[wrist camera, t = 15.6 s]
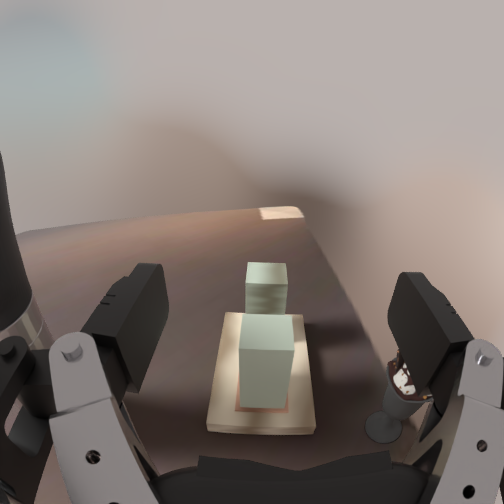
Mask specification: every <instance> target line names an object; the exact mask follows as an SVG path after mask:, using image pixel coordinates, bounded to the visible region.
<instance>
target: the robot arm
mask: <svg viewBox="0 0 504 504" xmlns="http://www.w3.org/2000/svg"><path fill="white" fill-rule="evenodd" d="M168 313H169V302H168V296H167V290H166V284H165V278H164V271H163V267H162V265H161V264H153V263H138V264H137V266H136V267H135V268H134V270H133V271H132V273H131V274H130V275H129V277H125V276H124V277H123V278H122V279H120V280H119V281H117V282H116V283H114V284H113V285H112V286H111V288H110V289H109V291H108V292H107V293H106V296H104V298H103V299H102V300H101V302H100V304H99V305H98V306H97V307H96V309H95V310H94V312H93V313H92V315H91V316H90V318H89V319H88V321H87V322H86V324H85V325H84V326H83V328H82V329H81V331H80V332H73V333H69V334H66V335H64V336H62V337H60V338H59V339H58V340H56V341H54V339H53V337H52V335H51V333H50V331H49V329H48V327H47V324H46V322H45V320H44V318H43V316H42V313H41V311H40V309H39V306H38V304H37V302H36V299H35V297H34V294H33V292H32V289H31V286H30V284H29V281H28V278H27V275H26V272H25V269H24V265H23V261H22V258H21V254H20V251H19V247H18V244H17V240H16V236H15V232H14V228H13V223H12V219H11V213H10V207H9V201H8V194H7V186H6V180H5V172H4V166H3V161H2V156H1V153H0V504H34V500H35V497H36V493H37V490H38V486H39V483H40V480H41V477H42V474H43V471H44V467H45V464H46V462H47V459H48V456H49V453H50V450H51V447H52V445H53V443H54V447H55V451H56V455H57V459H58V463H59V466H60V470H61V473H62V477H63V480H64V483H65V486H66V489H67V492H68V495H69V498H70V501H71V503H72V504H494V502H495V499H496V496H497V492H498V488H499V487H500V491H501V496H502V500H503V504H504V357H502V355H501V353H500V351H499V350H498V349H497V348H496V347H495V346H494V345H493V344H492V343H490V342H488V341H485V340H482V339H474V338H473V336H472V334H471V333H470V331H469V330H468V328H467V327H466V325H465V324H464V322H463V321H462V319H461V318H460V316H459V315H458V314H456V311H455V309H454V308H453V306H451V304H450V302H449V301H448V300H447V298H446V297H445V295H444V294H443V293H441V292H440V291H439V290H437V289H436V288H435V287H433V286H432V285H431V283H430V282H429V281H428V279H427V278H426V277H425V275H424V274H423V273H421V272H402V273H401V274H400V275H399V277H398V280H397V283H396V286H395V290H394V293H393V296H392V300H391V303H390V306H389V309H388V324H389V327H390V329H391V331H392V334H393V336H394V338H395V341H396V343H397V345H398V348H399V350H400V352H401V355H402V357H403V359H404V362H405V364H406V367H407V369H408V372H409V374H410V377H411V379H412V382H413V384H414V387H415V390H416V392H417V395H418V397H421V396H426V395H432V397H433V400H432V401H431V402H430V404H429V406H428V409H427V411H426V415H425V417H424V420H423V422H422V425H421V427H420V430H419V432H418V434H417V437H416V439H415V442H414V444H413V446H412V448H411V450H410V452H409V453H408V455H407V456H406V457H405V459H404V460H403V461H402V463H400V462H394V461H391V458H390V454H389V450H388V451H383V452H377V453H371V454H364V455H357V456H349V457H345V458H342V459H339V460H336V461H333V462H330V463H327V464H323V465H320V466H317V467H313V468H310V469H306V470H302V471H294V470H288V469H284V468H279V467H274V466H270V465H266V464H262V463H258V462H254V461H250V460H240V459H226V458H215V457H206V456H199V461H198V466H195V467H187V468H182V469H178V470H174V471H171V472H168V473H165V474H163V475H160V474H159V472H158V470H157V468H156V467H155V465H154V463H153V462H152V460H151V459H150V457H149V455H148V453H147V452H146V450H145V448H144V446H143V444H142V442H141V440H140V438H139V436H138V434H137V431H136V429H135V427H134V425H133V423H132V420H131V418H130V416H129V414H128V411H127V409H126V407H125V404H124V402H123V400H122V399H123V397H124V394H125V392H126V391H128V392H133V393H139V391H140V388H141V385H142V382H143V380H144V377H145V374H146V372H147V369H148V367H149V364H150V361H151V359H152V356H153V354H154V351H155V349H156V346H157V344H158V341H159V339H160V336H161V334H162V331H163V329H164V326H165V324H166V321H167V318H168ZM14 403H15V404H16V405H17V407H18V408H19V409H20V411H19V414H18V416H17V418H16V420H15V422H14V424H13V426H12V429H11V431H10V433H9V435H8V437H7V435H6V433H5V429H4V425H5V421H6V418H7V416H8V414H9V412H10V410H11V408H12V406H13V404H14Z"/></svg>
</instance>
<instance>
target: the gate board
mask: <svg viewBox="0 0 504 504" xmlns="http://www.w3.org/2000/svg"><path fill="white" fill-rule="evenodd" d="M287 287H288V282H287V272H286V263H256V262H248V267H247V276H246V313H230V312H226V314H225V319H224V325H223V330H222V336H221V341H220V347H219V352H218V358H217V363H216V369H215V375H214V380H213V386H212V392H211V398H210V403H209V409H208V415H207V421H206V425H207V429H208V431H213V432H224V433H238V434H259V435H304V434H313V433H314V430H315V428H316V421H315V412H314V402H313V393H312V385H311V376H310V368H309V360H308V352H307V344H306V337H305V329H304V322H303V315H292V325H293V336H294V348H295V352H294V358H293V364H292V370H291V375H290V381H289V387H288V392H287V398H286V403H285V408H249V407H240V387H239V340H240V332H241V323H242V314H265V315H285V307H286V297H287Z"/></svg>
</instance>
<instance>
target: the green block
mask: <svg viewBox="0 0 504 504" xmlns="http://www.w3.org/2000/svg"><path fill="white" fill-rule="evenodd" d="M294 352H295V348H294V336H293V325H292V315H265V314H242V323H241V332H240V340H239V387H240V407H249V408H285V403H286V398H287V392H288V387H289V381H290V375H291V370H292V364H293V358H294Z"/></svg>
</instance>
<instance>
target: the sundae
mask: <svg viewBox="0 0 504 504" xmlns="http://www.w3.org/2000/svg"><path fill="white" fill-rule="evenodd" d="M386 375H387V379H388V382H389V383H388V386H387V389H386V391H385V394H384V398H383V403H382V407H383V410H384V411H378V412H375V413H373V414H371V415H370V416H369V417H368V419H367V421H366V424H365V429H366V432H367V434H368V436H369V437H370V438H371V439H372V440H374V441H376V442H379V443H390V442H393V441H395V440H396V439H397V438H398V437H399V436H400V434H401V431H402V425H401V422H400V420H404V419H407V418H408V417H410V416H411V415H412V414H414V413H415V412H416V411H417V410H418V409H419V408H420V407H421V406H422V405H423V404H424V403H425V402H430V401H432V400H433V397H432V395H426V396H421V397H418V395H417V392H416V390H415V387H414V384H413V382H412V379H411V377H410V374H409V372H408V369H407V367H406V364H405V362H404V359H403V357H402V355H401V352H400V350H399V349H398V351H397V357H396V358H394V359H393V360H392V361H390V362H388V366H387V370H386Z"/></svg>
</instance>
